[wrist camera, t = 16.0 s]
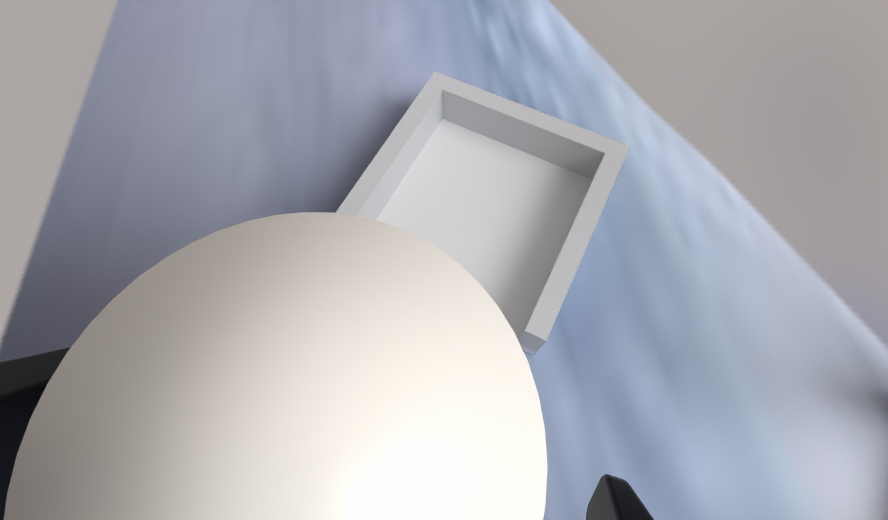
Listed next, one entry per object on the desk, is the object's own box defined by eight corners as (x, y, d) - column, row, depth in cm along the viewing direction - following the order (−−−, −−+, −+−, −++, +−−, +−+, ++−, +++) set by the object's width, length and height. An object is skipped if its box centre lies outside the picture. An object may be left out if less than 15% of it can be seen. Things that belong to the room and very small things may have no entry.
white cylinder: (442, 596, 14) (420, 1322, 2) (277, 491, 16) (-276, 624, 4) (523, 407, 17) (716, 300, 5) (373, 328, 18) (226, 86, 6)
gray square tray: (533, 355, 17) (546, 341, 15) (337, 257, 19) (322, 231, 17) (609, 180, 21) (630, 146, 18) (435, 110, 22) (434, 71, 20)
